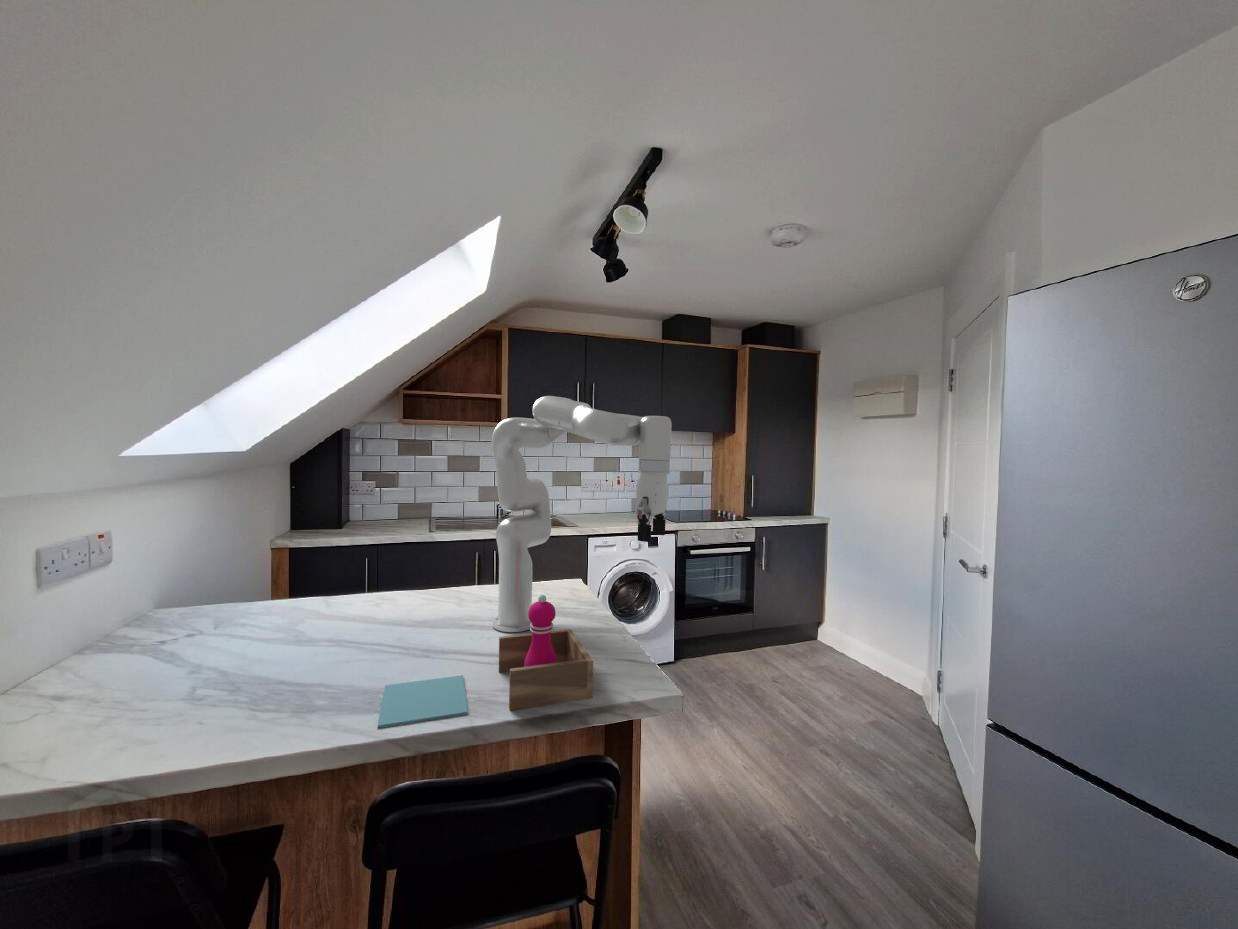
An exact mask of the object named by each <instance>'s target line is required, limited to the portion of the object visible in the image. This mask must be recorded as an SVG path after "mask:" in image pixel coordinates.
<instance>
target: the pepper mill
mask: <svg viewBox="0 0 1238 929" xmlns="http://www.w3.org/2000/svg"><path fill="white" fill-rule="evenodd" d="M537 600H538V601H535V602H533V603H532V605H531V607H530V608H529V611H528V618H529V620H530V621H531V622H532V623H531V624H530V627H531V628H530V629H529V630H530V632H531V633H532V643H531V646H530V649H529V651H528V653H527V655H526V658H525V663H524V667H528V666H535V665H543V664H551V663H557V658H556V654H555V652H554V649H553V647H552V644H551V631H554V628H553V626H554V623H553V621H554V619H555V618H556V607H555V606H554V605H553V604H552V603H551V601H550V602H549V601H547V597H546V595H544V594H540V595H538V598H537Z"/></svg>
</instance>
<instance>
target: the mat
mask: <svg viewBox="0 0 1238 929" xmlns="http://www.w3.org/2000/svg"><path fill="white" fill-rule="evenodd" d="M468 713H469V712H468V705H467V695H466V687H465V678H464V675H463V674H462V675H456V676H448V677H447V676H446V677H445V676H444V677H440V678H429V679H425V680H424V679H423V680H417V681H416V680H415V681H408V682H399V683H393V684H392V683H391V684H385V685H384V690H383V696H382V700H381V704H380V711H379V715H378V716H379V717H378V720H377V721H378V722H377V729H380V728H387V727H388V728H389V727H394V726H395V727H396V726H400V725H406V724H412V723H419V722H426V721H433V720H438V719H445V718H451V717H458V716H465V715H468Z"/></svg>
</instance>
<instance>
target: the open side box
mask: <svg viewBox="0 0 1238 929" xmlns="http://www.w3.org/2000/svg"><path fill="white" fill-rule="evenodd" d="M531 643H532V632H531V633H529V632H528V633H521V634H512V635H503V636H498V673H507V672H509V688H508V690H509V691H508V692H509V693H508V694H509V695H508V698H509V700H508V708H509V711H516V710H522V709H523V710H524V709H528V708H529V709H530V708H534V707H535V708H536V707H542V706H548V705H554V704H555V705H556V704H562V703H566V702H573V701H579V700H586V699H587V700H588V699H592V698H593V690H594V689H593V688H594V686H593V683H594V659H593V658H592V656H591V655H590V654H589V652H588V651H587V649H586V648H585V646H584V645H583V644H582V643H581V641H580V640H579V639H578V637H577V636H576V634H575V633H574V631H573V630H572V629H571V628H569V629H559V630H552V631H551V644H552V647H553V649H554V652H555V654H556V658H557V663H551V664H543V665H535V666H528V667H524V663H525V658H526V655H527V653H528V651H529V649H530V646H531Z"/></svg>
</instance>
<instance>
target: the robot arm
mask: <svg viewBox="0 0 1238 929" xmlns="http://www.w3.org/2000/svg"><path fill="white" fill-rule="evenodd" d="M532 405H533V406H532V412H531V413H532V416H533V418H528V417H515V416H514V417H510V418H509V417H508V418H505V419H503V420H501V421H500V422H499V423H498V424H497V425H496V427H495V428H494V430H493V432H492V436H491V449H492V453H493V457H494V458H493V459H494V463H495V470H496V473H495V475H496V484H497V486H496V487H497V495H498V503H499V506H500V507H501V509H502V510H503V511H504V512H508V513H514V512H524V513H523V514H524V515H523V514H521V515H516V516H511V517H507V518H505V519H503V520H502V521H501V522H500V523H499V524H498V525H497V528H496V530H495V540H496V545H497V551H498V606H497V608H498V614H497V615H498V616H497V617H495V618H494V619H493V621H492V627H493V628H494V629H495V630H497V631H499V632H503V633H520V632H526V631H529V630H530V628H531V627H530V624H531V623H532V622H531V621H530V620H529V618H528V611H529V608H530V607H531V605H532V604H533V561H532V557H531V555H530V553H529V549H528V548H531V547H535V546H539V545H543V544H544V543H547V541H548V540H549V538H550V537H551V533H552V519H551V506H550V505H551V504H550V497H549V491H548V488H547V486H546V484H545V483H544V482H543V481H542V480H540V479H539V478H537V477H528V476H527V466H526V461H525V458H524V456H523V454H522V452H521V451H520V450H519V449H521V448H527V449H528V448H531V449H533V448H534V449H535V448H538V449H541V448H544V447H548V446H550V445H551V444H553V442H555V441H556V440H558V439H559V438H561V437H562V436H563V435H564V434H566V433H569V434H570V433H571V434H573V435H576V436H578V437H582V438H584V439H588V440H591V441H595V442H599V443H602V444H606V445H611V446H639V447H638V449H639V450H638V451H639V452H638V479H637V484H636V494H635V496H636V497H635V511H634V512H635V514H636V518H637V523H636V524H637V541H638V542H643V543H650V542H651V541H652V534H653V535H656V536H665V535H666V523H667V522H666V519H667V514H666V512H667V507H668V475H670V474H671V473H670V472H671V471H670V470H671V451H672V449H671V448H672V447H671V446H672V420H671V418H670V417H669V416H662V415H645V416H638V415H633V414H632V415H631V414H626V413H625V414H623V413H615V412H609V411H605V410H599V409H596V408H592V407H591V405H590V404H588V403H587V402H586V403H585V402H583V401H576V400H573V399H572V398H569V397H568V398H567V397H561V396H554V395H545V396H541V397H539V398H538V399H536V400H535V402H534V404H532ZM651 522H652V524H651Z"/></svg>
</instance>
